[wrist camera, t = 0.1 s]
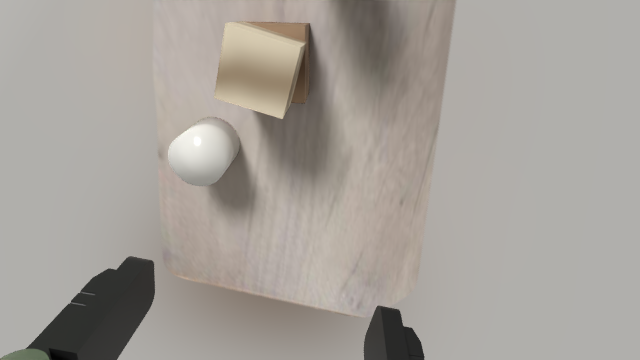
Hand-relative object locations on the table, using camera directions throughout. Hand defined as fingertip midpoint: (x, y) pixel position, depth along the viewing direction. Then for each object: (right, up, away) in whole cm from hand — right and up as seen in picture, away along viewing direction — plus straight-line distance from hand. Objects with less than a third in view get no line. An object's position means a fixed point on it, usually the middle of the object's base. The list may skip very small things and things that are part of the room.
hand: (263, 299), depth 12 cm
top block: (-3, +15, +20) cm, 25 cm away
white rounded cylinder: (-11, +9, +29) cm, 32 cm away
